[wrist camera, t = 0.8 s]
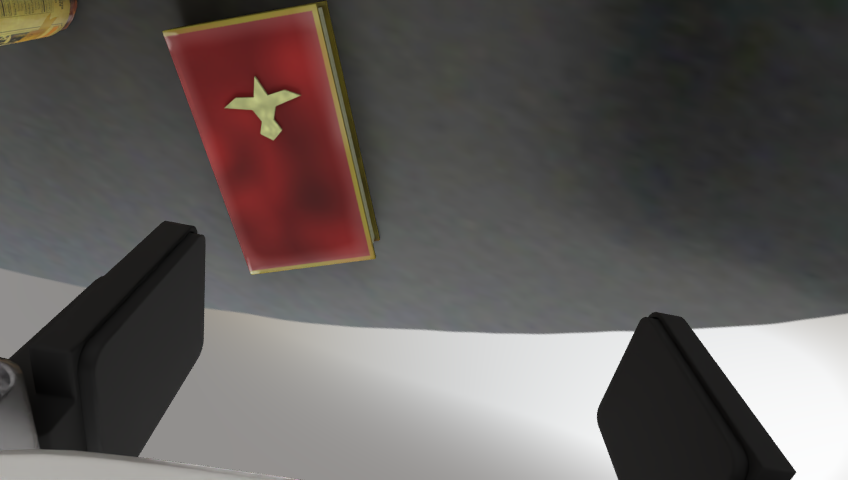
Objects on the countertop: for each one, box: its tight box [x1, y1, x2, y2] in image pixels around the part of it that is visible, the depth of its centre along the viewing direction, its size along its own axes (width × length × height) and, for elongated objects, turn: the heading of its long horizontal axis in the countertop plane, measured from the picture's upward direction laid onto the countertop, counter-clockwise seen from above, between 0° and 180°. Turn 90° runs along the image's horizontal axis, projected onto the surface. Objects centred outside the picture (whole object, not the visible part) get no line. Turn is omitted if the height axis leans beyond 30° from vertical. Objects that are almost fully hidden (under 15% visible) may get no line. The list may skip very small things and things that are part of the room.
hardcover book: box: [162, 1, 380, 275], centre depth 44 cm, size 12×21×4 cm, turn 9°
